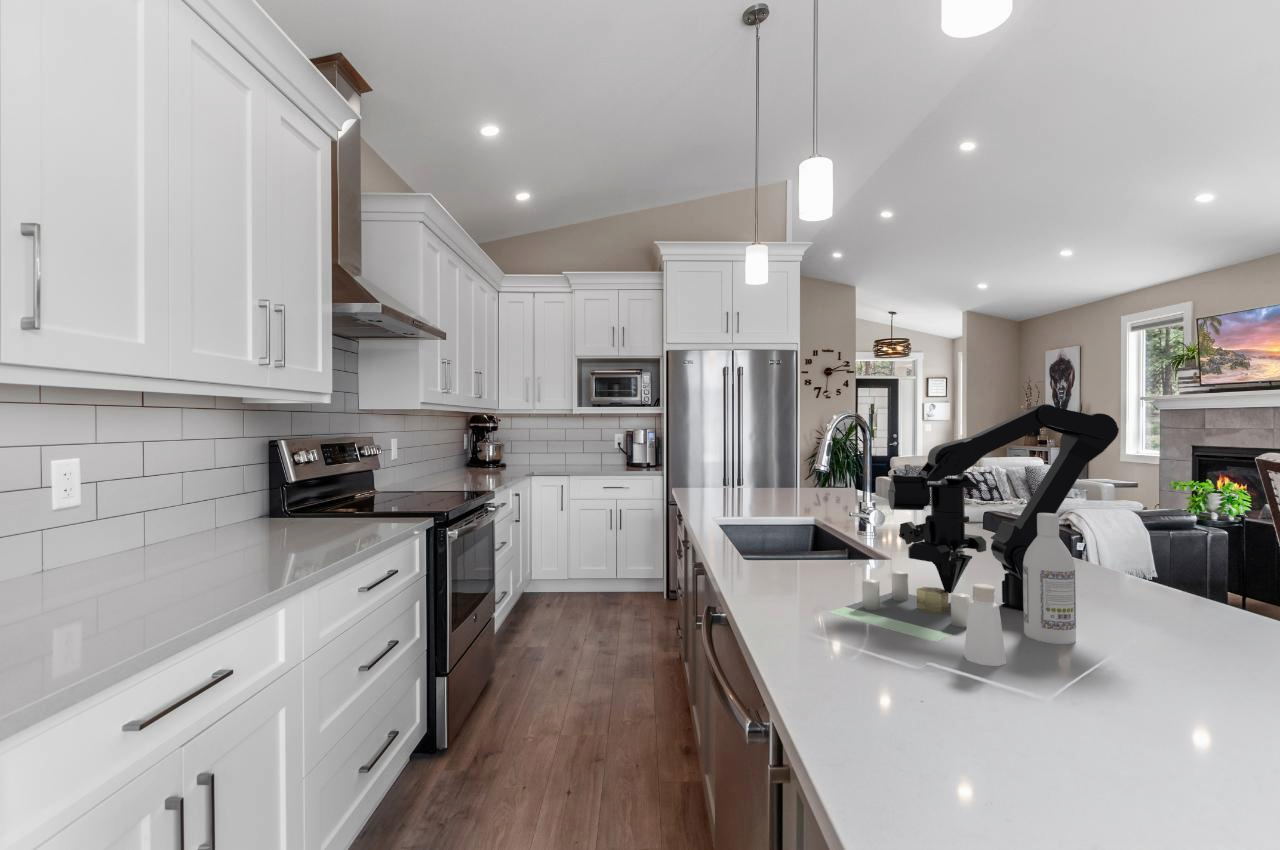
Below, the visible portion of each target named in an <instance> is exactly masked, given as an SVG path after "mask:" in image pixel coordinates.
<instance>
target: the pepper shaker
mask: <svg viewBox="0 0 1280 850" xmlns="http://www.w3.org/2000/svg"><path fill="white" fill-rule="evenodd" d="M973 590H974V593H973V592H972V595H973V594H974V600H973V599H971V601H970V603H969V611H968V620H967V629H965V630H966V632H965V640H964V651H963V653H964V654H963V656H964V658H966V660H967V661H968V662H972V663H974V664H978V665H981V666H991V667H993V666H994V667H1000V666H1003V665H1006V664H1007V658H1006V651H1005V643H1004V636H1003V635H1004V634H1003V628H1002V627H1003V626H1002V619H1001V613H1000V612H1001V611H1000V607H999V606H1000V605H999V604H997V603H996V602H995V591H996V588H995V587H994V586H993V585H991V584H987V583H975V584H973V585H972V591H973Z"/></svg>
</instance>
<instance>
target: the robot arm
mask: <svg viewBox="0 0 1280 850" xmlns="http://www.w3.org/2000/svg"><path fill="white" fill-rule="evenodd" d="M1043 428H1045V429H1047V430H1050V431H1052V432H1055V433H1059V434H1060V435H1061V437H1060V440H1059V450H1058V454H1057V456H1056V458H1055V459H1054V461H1053V462H1052V463H1051V466H1050V467H1049V468H1048V470H1047V472H1046V473H1045V475H1044V477H1043V478H1042V479H1041V482H1040V483H1039V484H1038V486H1037V488H1036V489H1035V491H1034V492H1033V494H1032V496H1031V498H1030V499H1029V501H1028V502H1027V504H1026V506H1025V507H1024V509H1023V510H1022V512H1021V513H1020V515H1019V516H1018V517H1017V518H1016V519H1015V520H1013V521H1012V522H1007V521H1005V520H1002V521H1001V522H1000V524H999V526H998V529H997V530H996V532H995V533H994V534H993V535H992V536H991V537H990V539H991V540H992V542H991V545H990V550H991V553H992V555H993V557H994V558H995V560H997V561H999V563H1000V564H1001V567H1002V569H1003V571H1006V572H1005V573H1004V580H1001V602H1002V604H1000V607H1002V608H1005V609H1011V610H1015V611H1021V612H1024V608H1023V560H1024V556H1025V553H1026V551H1027V549H1028V547H1029V546H1030V544H1031V543H1032V542H1033V541H1034V539H1035V538H1036V537H1037V535H1038V534H1037V514H1038V513H1053V514H1057V512H1058V510H1059V509H1060V507H1061V505H1062V504H1063V503H1064V501H1065V499H1066V498H1067V496H1068V495H1069V494H1070V491H1071V490H1072V488H1073V486H1074V485H1075V483H1076V482H1077V480H1078V479H1079V477H1080V476H1081V474H1082V473H1083V470H1084V469H1085V468H1086V466H1087V465H1088V464H1089V463H1090V462H1091V461H1093V460H1095V459H1096V458H1097V457H1099V456H1100V455H1101V454H1102V453H1103V452H1105V451H1106V450H1107V449H1108V448H1109V446H1110V445H1111V444H1112V443H1113V442H1114V441H1116V439H1117V437H1118V434H1119V431H1120V428H1119V427H1118V424H1117V422H1116V420H1115V419H1114V418H1113V417H1112V416H1111V415H1108V414H1107V413H1106V414H1105V413H1097V412H1096V413H1085V412H1079V411H1075V410H1072V409H1071V410H1069V409H1065V408H1061V407H1058V406H1054V405H1052V404H1049V403H1048V404H1047V403H1044V404H1036V405H1032V406H1031V407H1030V408H1028V409H1027V410H1024V411H1023V412H1020V413H1019V414H1016V415H1014V416H1012V417H1010V418H1008V419H1005V420H1004V421H1002V422H1000V423H997V424H995V425H993V426H991V427H988V428H987V429H984V430H982V431H980V432H978V433H975V434H974V435H971V436H968V437H964V438H961V439H956V440H953V441H949V442H946V443H941V444H938V445H935V446H934V447H932V448H931V449H930V450H929V452H928V456H927V462H926V463H925V464H924V465H923V467H922V468H921V469H920V470H919V472H918V473H917V474H916V475H903V474H897V473H896V474H894V473H893V474H891V476H890V482H889V489H888V491H887V493H888V495H887V496H888V497H887V498H888V504H889V505H888V506H889V507H890V511H891V510H892V511H895V510H896V511H898V510H899V511H924V509H925V507H928V505H930V508H931V509H930V511H931V514H928V515H926V516H925V520H924V523H920V524H916V525H915V524H914V523H913V522H912V521H906V522H903V523H900V525H899V526H900V527H899V529H898V530H899V534H898V537H899V538H900V539H902V540H904V543H905V544H906V545H909V547H908V548H907V550H908V552H907V554H908V556H907V558H908V559H910V560H918V561H922V562H928V563H929V562H930V563H932V564H933V565H934V566H935V569H936V570H937V573H938V576H939V578H940V581H941V585H942V587H943V588H942V589H943V590H945V591H948V594H952V593H954V591H955V589H956V587H957V584H958V583H959V581H960V579H961V577H962V575H963V574H964V571H965V570H966V568H967V567H968V564H969V562H970V561H971V560H972V559H973V556H972V555H969V554H965V553H966V551H965V550H964V549H970V550H975V551H976V552H977V553H984V552H987V541H986V539H985V538H984V537H983V536H981V535H975V534H967V533H966V523H970V516H969V515H968V516H966V514H965V513H966V512H965V507H966V506H965V505H966V504H965V503H966V501H965V488H970V489H971V488H977V487H978V484H977V483H975V482H974V481H973V480H972V479H971V478H970V477H969V476H968V475H967V474H966V473H965V474H964V472H965V471H967V470H968V469H971V467H973V466H974V465H975V464H977V463H978V462H979V461H980V460H981V459H982V458H983V457H984V456H986V455H987V454H989V453H992V452H993V451H996V450H998V449H1000V448H1002V447H1004V446H1007V445H1009V444H1010V443H1014V442H1015V441H1018V440H1019V439H1022V438H1023V437H1026V436H1028V435H1030V434H1033V433H1034V432H1037V431H1039V430H1040V429H1043ZM959 475H960V476H959ZM948 476H949V477H948ZM956 476H959V477H956ZM953 477H954V478H953ZM929 482H930V483H929Z"/></svg>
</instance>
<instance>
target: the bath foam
mask: <svg viewBox="0 0 1280 850" xmlns="http://www.w3.org/2000/svg"><path fill="white" fill-rule="evenodd" d="M1037 534H1038V535H1037V537H1036V538H1035V539H1034V541H1033V542H1032V543H1031V544H1030V546H1029V547H1028V549H1027V551H1026V553H1025V556H1024V560H1023V608H1024V611H1023V633H1024V635H1025V636H1026V637H1028V638H1029V639H1032V640H1035V641H1038V642H1042V643H1047V644H1055V645H1071V644H1074V643H1075V642H1076V641H1077V607H1076V606H1077V603H1076V602H1077V601H1076V597H1077V596H1076V565H1075V561H1074V558H1073V556H1072V555H1073V554H1071V552H1070V550H1069V549H1068V547H1067V546H1066V545H1065V543H1064V542H1063V540H1061V539H1062V538H1061V537H1060V515H1059V514H1057V513H1056V514H1053V513H1038V514H1037ZM1075 644H1076V643H1075Z"/></svg>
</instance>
